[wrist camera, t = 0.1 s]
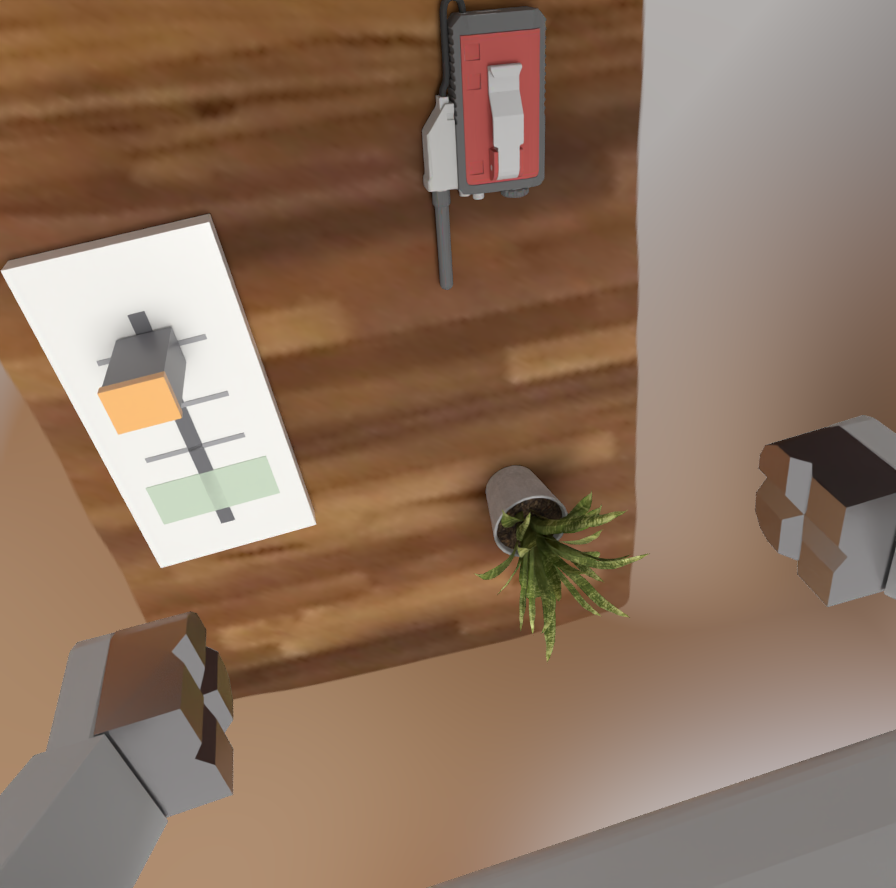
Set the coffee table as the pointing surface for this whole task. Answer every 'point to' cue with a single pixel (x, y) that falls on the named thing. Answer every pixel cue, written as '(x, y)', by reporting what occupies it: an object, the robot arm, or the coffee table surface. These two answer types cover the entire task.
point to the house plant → (545, 544)
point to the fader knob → (144, 381)
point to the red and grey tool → (485, 112)
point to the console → (204, 393)
